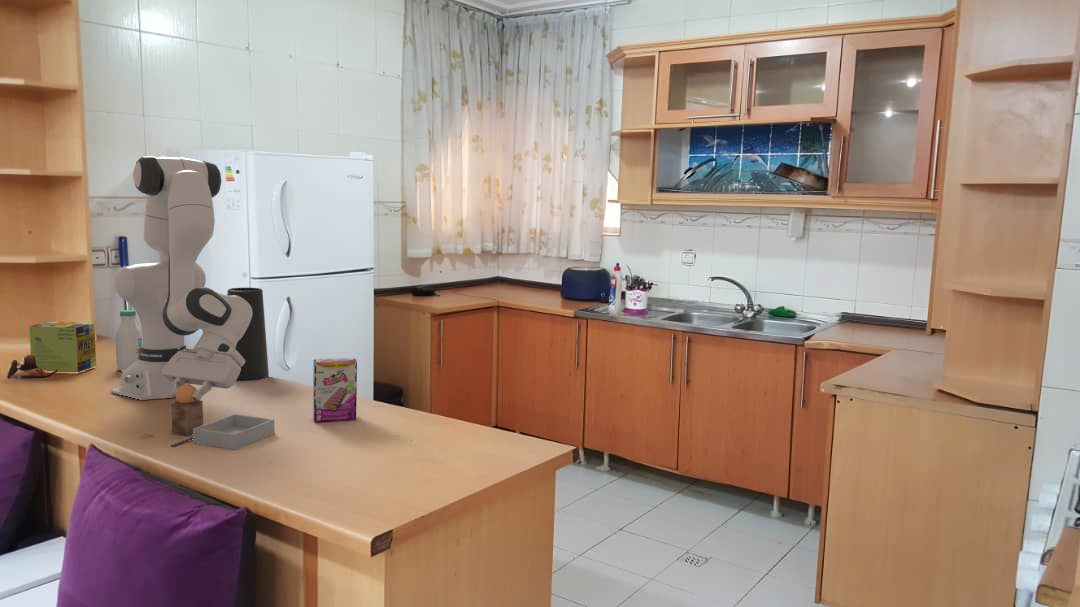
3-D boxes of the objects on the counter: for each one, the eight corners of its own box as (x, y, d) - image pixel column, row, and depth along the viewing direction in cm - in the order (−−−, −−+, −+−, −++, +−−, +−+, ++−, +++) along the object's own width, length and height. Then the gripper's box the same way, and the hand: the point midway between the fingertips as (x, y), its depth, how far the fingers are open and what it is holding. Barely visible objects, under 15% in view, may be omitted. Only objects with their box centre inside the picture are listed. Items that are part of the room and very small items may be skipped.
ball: (171, 405, 186) (170, 386, 186) (186, 401, 191) (186, 381, 190) (187, 408, 185) (186, 388, 184) (202, 403, 189) (202, 383, 189)
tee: (172, 433, 187) (171, 403, 186) (187, 428, 192) (186, 398, 191) (188, 436, 186) (187, 405, 185) (203, 430, 190) (202, 400, 189)
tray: (193, 443, 181) (192, 428, 180) (234, 427, 194) (234, 413, 194) (234, 449, 177) (234, 435, 176) (274, 433, 190) (274, 419, 190)
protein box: (78, 374, 244) (76, 327, 242) (30, 373, 244) (28, 325, 242) (97, 367, 255) (95, 322, 253) (51, 366, 255) (49, 320, 253)
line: (170, 446, 178) (170, 445, 178) (236, 422, 199) (236, 420, 199) (174, 446, 178) (174, 445, 178) (239, 422, 198) (239, 421, 198)
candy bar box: (314, 423, 200) (313, 362, 198) (312, 418, 204) (312, 358, 202) (357, 420, 204) (357, 360, 202) (355, 415, 208) (355, 357, 206)
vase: (247, 370, 258) (245, 285, 255) (277, 374, 253) (276, 288, 249) (214, 377, 246) (212, 289, 242) (246, 383, 240) (244, 292, 237)
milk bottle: (135, 372, 250) (132, 312, 247) (111, 371, 250) (109, 311, 247) (147, 367, 257) (145, 309, 255) (125, 366, 257) (122, 308, 255)
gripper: (173, 341, 196) (144, 386, 188) (238, 348, 189) (210, 395, 181) (187, 355, 201) (159, 399, 193) (250, 362, 194) (224, 408, 186)
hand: (184, 397), depth 187 cm, fingers closed on ball, 5 cm apart
